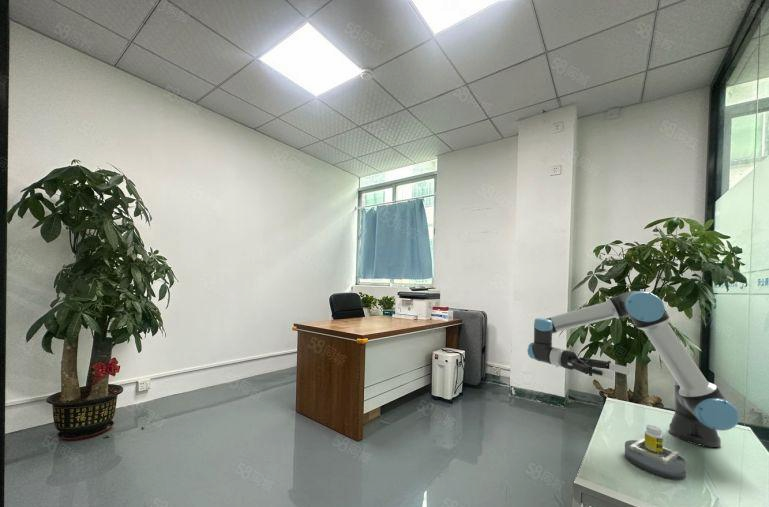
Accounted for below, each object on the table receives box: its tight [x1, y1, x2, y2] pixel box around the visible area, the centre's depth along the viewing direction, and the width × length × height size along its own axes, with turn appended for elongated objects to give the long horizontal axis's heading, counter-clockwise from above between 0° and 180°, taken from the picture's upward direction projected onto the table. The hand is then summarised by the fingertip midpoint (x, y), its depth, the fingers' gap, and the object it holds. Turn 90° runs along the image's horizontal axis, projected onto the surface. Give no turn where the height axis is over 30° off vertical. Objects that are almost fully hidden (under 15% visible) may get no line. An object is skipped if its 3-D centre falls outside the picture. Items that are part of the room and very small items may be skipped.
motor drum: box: [624, 438, 687, 481], centre depth 107 cm, size 16×16×5 cm
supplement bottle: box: [644, 424, 664, 456], centre depth 108 cm, size 5×5×8 cm
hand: (621, 373), depth 117 cm, fingers open, 13 cm apart
